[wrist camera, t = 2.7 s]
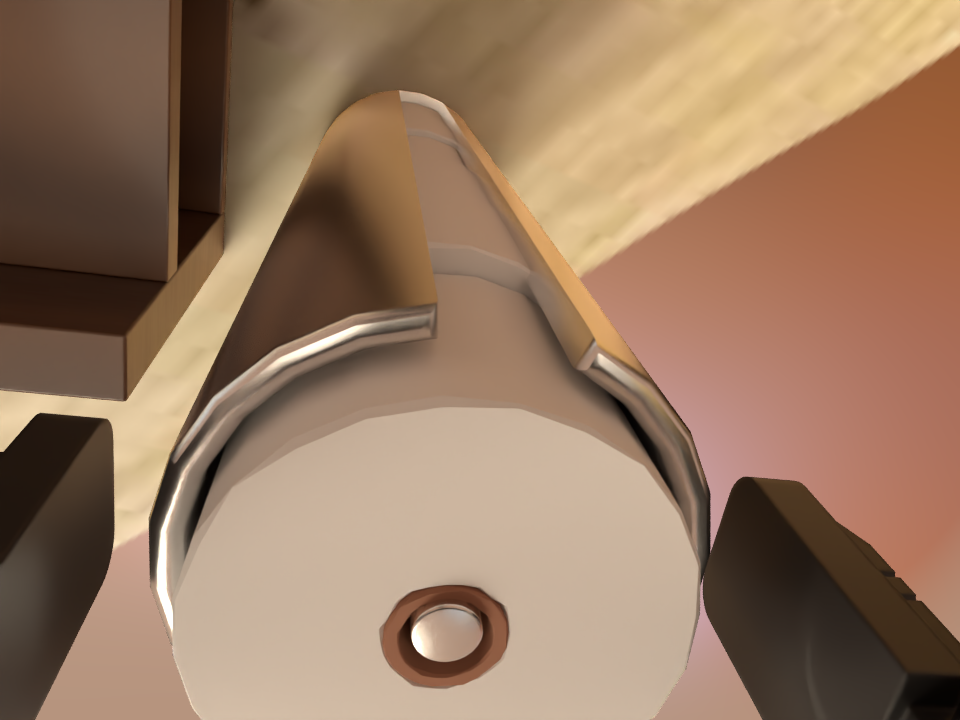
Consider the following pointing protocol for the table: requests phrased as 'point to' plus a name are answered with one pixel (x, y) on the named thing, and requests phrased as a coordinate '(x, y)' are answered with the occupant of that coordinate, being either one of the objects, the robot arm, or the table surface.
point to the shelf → (107, 184)
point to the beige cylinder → (426, 464)
